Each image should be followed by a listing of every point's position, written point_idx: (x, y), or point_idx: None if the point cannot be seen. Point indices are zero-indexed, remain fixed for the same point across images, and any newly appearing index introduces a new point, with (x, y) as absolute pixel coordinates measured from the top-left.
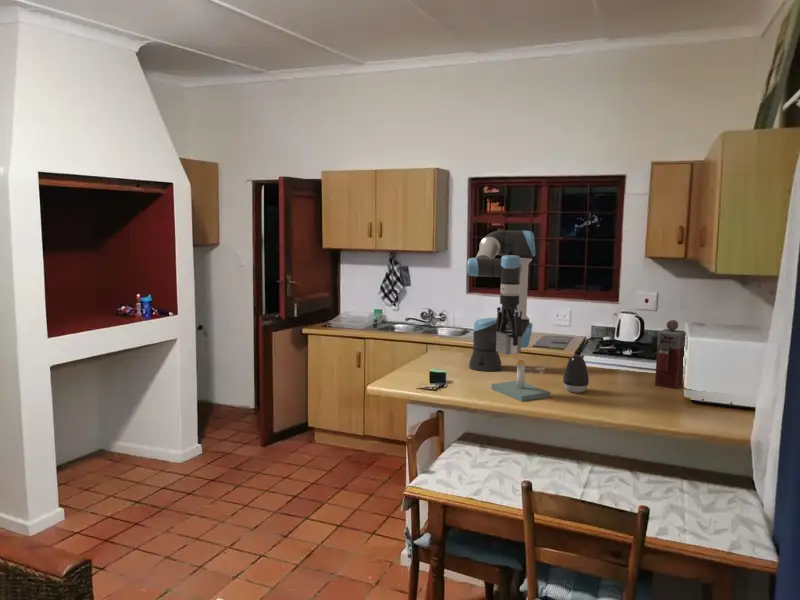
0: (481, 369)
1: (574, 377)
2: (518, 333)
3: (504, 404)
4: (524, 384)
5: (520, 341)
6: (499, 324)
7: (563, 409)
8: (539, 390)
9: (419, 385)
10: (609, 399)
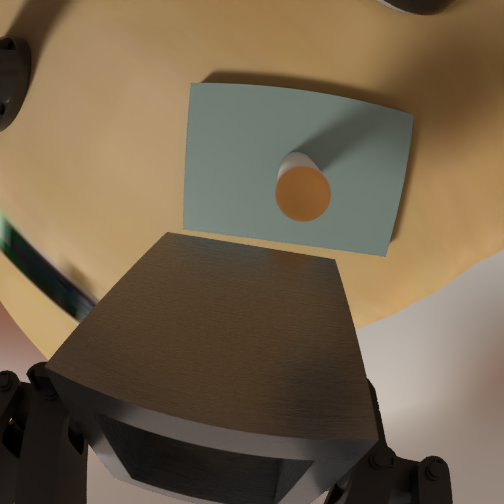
0: (13, 114)
1: (451, 1)
2: (391, 488)
3: (363, 314)
4: (261, 108)
5: (354, 342)
6: (13, 468)
7: (499, 207)
8: (375, 130)
9: None
10: (496, 12)
